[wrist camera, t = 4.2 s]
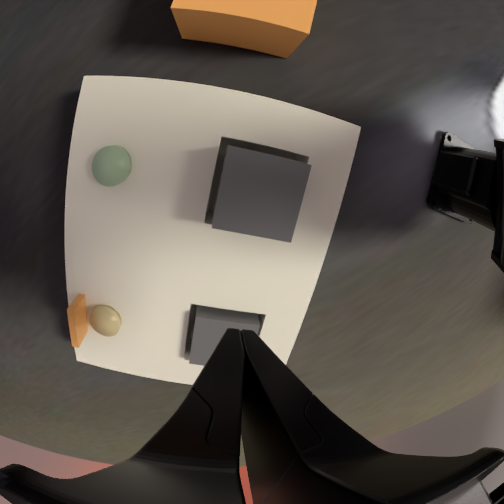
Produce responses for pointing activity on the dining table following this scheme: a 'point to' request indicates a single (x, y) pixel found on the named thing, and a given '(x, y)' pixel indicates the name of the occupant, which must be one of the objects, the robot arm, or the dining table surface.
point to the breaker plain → (259, 194)
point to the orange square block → (246, 23)
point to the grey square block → (216, 329)
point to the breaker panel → (186, 219)
